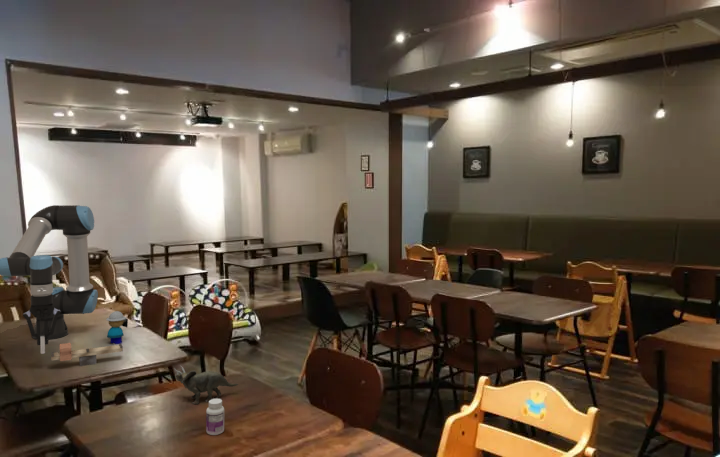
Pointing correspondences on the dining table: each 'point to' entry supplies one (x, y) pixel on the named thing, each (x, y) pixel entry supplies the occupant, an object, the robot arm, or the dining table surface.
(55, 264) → the robot arm
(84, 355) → the beam
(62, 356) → the pink block
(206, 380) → the dinosaur figurine
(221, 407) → the pill bottle
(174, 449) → the dining table surface
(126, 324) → the toy
